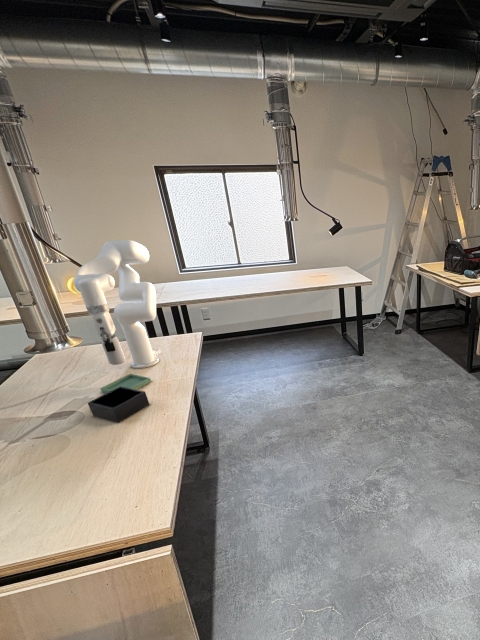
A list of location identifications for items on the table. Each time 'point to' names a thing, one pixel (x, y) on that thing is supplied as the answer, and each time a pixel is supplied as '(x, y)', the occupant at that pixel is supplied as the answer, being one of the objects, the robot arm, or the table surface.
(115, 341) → the beverage can
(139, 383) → the tray
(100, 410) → the open box
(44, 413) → the table surface
